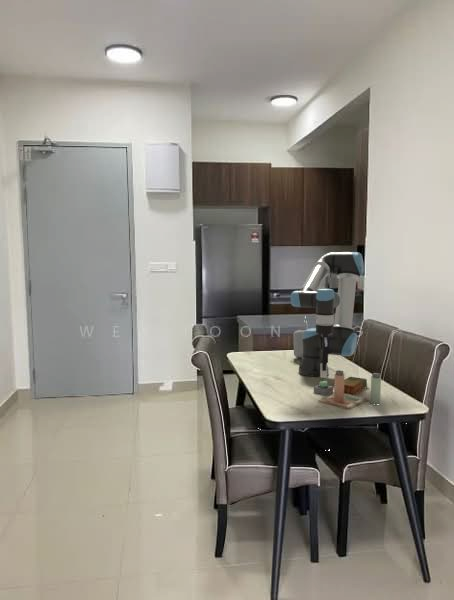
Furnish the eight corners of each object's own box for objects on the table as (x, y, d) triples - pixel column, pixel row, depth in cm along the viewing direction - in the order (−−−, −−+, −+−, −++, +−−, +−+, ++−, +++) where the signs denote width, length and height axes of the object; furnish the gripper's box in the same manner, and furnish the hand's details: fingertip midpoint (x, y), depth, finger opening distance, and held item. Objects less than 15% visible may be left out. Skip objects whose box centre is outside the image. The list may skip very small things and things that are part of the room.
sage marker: (373, 401, 190) (374, 372, 189) (381, 403, 187) (382, 373, 186) (368, 403, 187) (369, 373, 186) (377, 405, 184) (378, 375, 183)
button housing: (321, 389, 207) (321, 384, 207) (332, 392, 203) (333, 386, 203) (313, 392, 203) (313, 386, 203) (325, 394, 199) (325, 389, 199)
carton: (336, 392, 204) (336, 383, 203) (349, 384, 216) (349, 375, 216) (354, 395, 199) (354, 386, 198) (367, 387, 212) (367, 378, 211)
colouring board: (338, 393, 201) (338, 391, 201) (368, 400, 191) (368, 398, 191) (318, 401, 190) (318, 399, 190) (348, 409, 180) (348, 407, 180)
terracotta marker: (337, 399, 191) (337, 369, 190) (345, 401, 188) (346, 371, 187) (332, 401, 188) (333, 371, 187) (340, 403, 185) (341, 372, 184)
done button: (322, 385, 205) (322, 380, 205) (328, 386, 203) (328, 382, 203) (318, 386, 203) (318, 382, 203) (324, 388, 201) (324, 383, 200)
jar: (290, 355, 280) (290, 314, 277) (314, 354, 281) (314, 314, 278) (296, 362, 261) (297, 318, 259) (322, 361, 262) (322, 318, 259)
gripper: (314, 322, 207) (313, 373, 209) (317, 326, 194) (316, 381, 196) (331, 322, 206) (330, 373, 209) (335, 326, 194) (334, 381, 196)
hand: (323, 377), depth 202 cm, fingers closed
